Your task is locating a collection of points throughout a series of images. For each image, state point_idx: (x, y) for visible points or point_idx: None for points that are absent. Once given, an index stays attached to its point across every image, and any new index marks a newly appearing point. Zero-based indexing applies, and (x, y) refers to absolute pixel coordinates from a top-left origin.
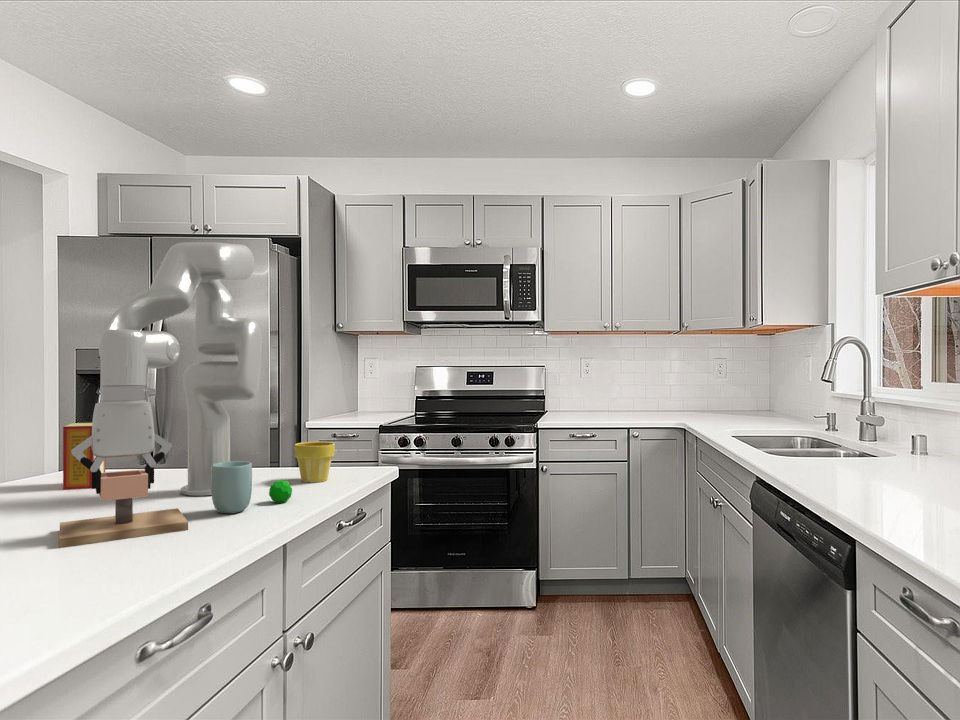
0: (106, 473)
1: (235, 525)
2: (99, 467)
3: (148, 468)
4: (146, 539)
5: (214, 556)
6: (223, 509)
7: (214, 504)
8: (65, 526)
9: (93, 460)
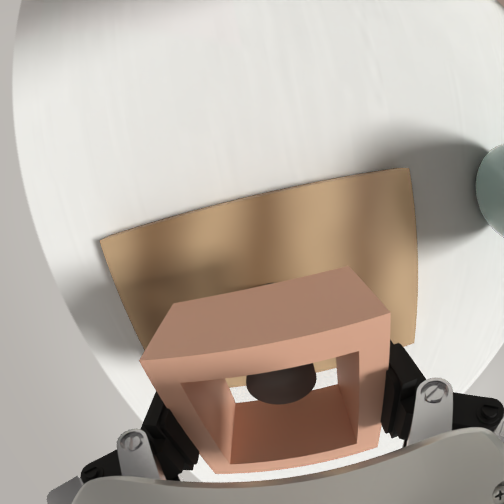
0: (183, 381)
1: (471, 319)
2: (168, 458)
3: (394, 435)
4: (327, 379)
5: (393, 445)
6: (487, 222)
7: (483, 202)
8: (129, 294)
9: (121, 468)
